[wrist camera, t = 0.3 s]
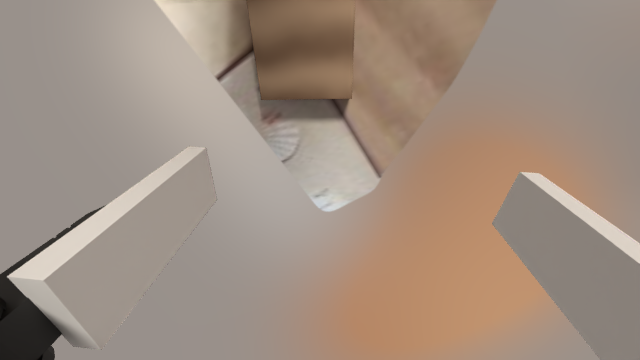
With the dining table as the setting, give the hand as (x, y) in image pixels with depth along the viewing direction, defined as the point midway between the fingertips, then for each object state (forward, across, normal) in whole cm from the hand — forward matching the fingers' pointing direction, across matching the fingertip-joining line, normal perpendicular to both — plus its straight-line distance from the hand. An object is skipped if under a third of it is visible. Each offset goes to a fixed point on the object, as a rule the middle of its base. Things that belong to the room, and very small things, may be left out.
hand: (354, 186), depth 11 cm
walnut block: (+27, -6, +4) cm, 28 cm away
